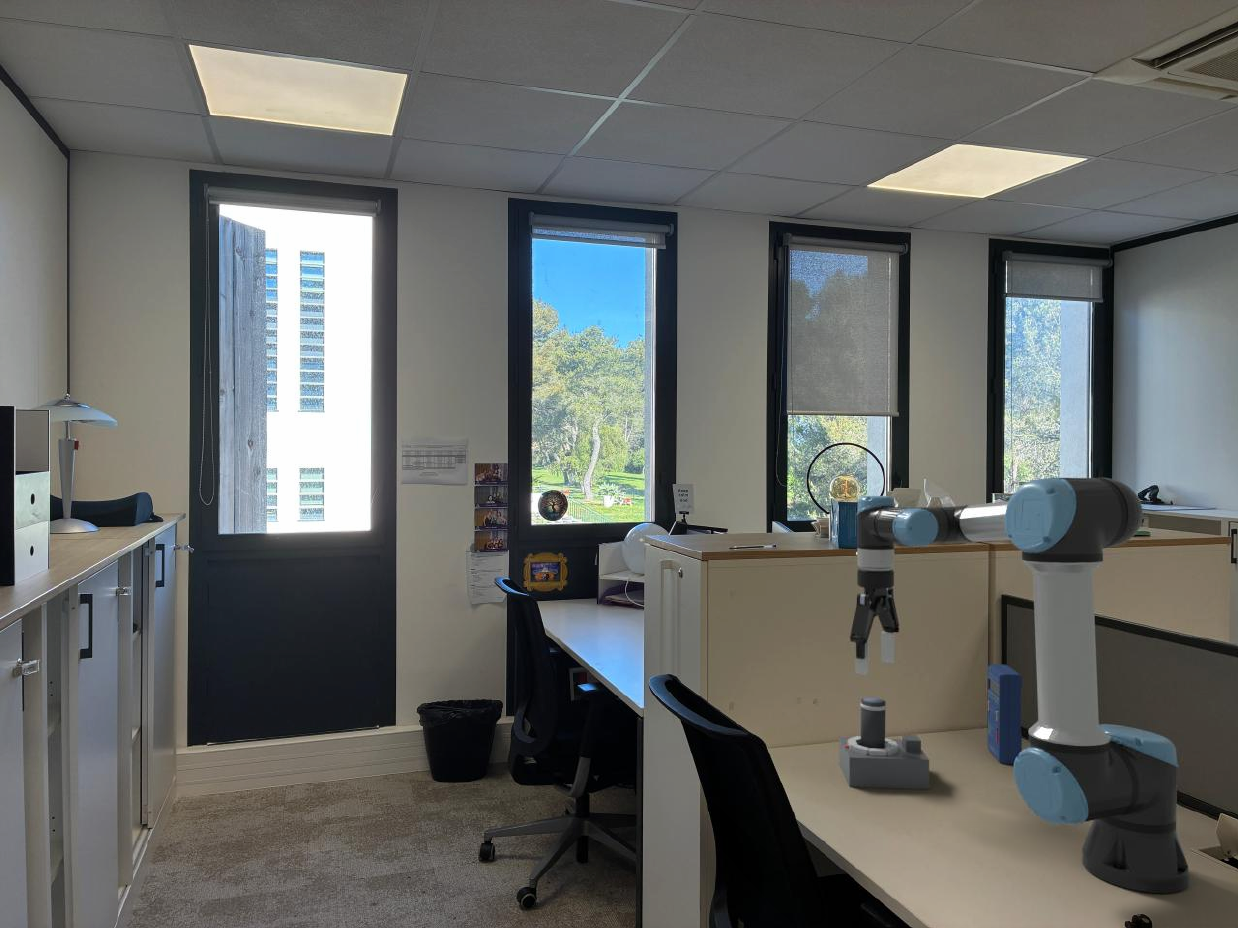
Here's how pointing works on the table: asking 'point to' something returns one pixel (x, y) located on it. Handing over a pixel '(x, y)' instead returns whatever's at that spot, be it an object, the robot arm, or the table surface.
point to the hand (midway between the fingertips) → (875, 667)
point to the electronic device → (1004, 713)
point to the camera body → (885, 763)
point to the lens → (873, 723)
